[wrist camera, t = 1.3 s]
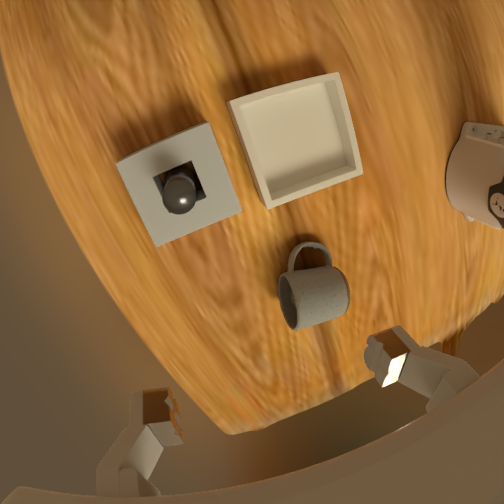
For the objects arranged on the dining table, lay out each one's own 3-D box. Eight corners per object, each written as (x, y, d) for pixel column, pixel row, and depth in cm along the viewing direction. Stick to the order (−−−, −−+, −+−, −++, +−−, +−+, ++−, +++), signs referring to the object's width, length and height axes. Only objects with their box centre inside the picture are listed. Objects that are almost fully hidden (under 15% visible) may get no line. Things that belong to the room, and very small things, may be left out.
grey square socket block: (206, 121, 30) (208, 122, 27) (236, 200, 35) (242, 211, 32) (123, 157, 30) (115, 163, 26) (158, 232, 35) (156, 247, 31)
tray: (326, 73, 30) (338, 71, 28) (351, 168, 36) (363, 173, 34) (225, 101, 30) (229, 101, 27) (260, 201, 36) (267, 209, 33)
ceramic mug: (328, 296, 45) (351, 327, 38) (278, 308, 44) (295, 342, 37) (332, 233, 40) (360, 258, 34) (275, 243, 39) (294, 272, 32)
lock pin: (187, 161, 32) (188, 176, 25) (197, 184, 33) (201, 206, 26) (163, 172, 32) (157, 190, 25) (173, 195, 33) (170, 219, 26)
